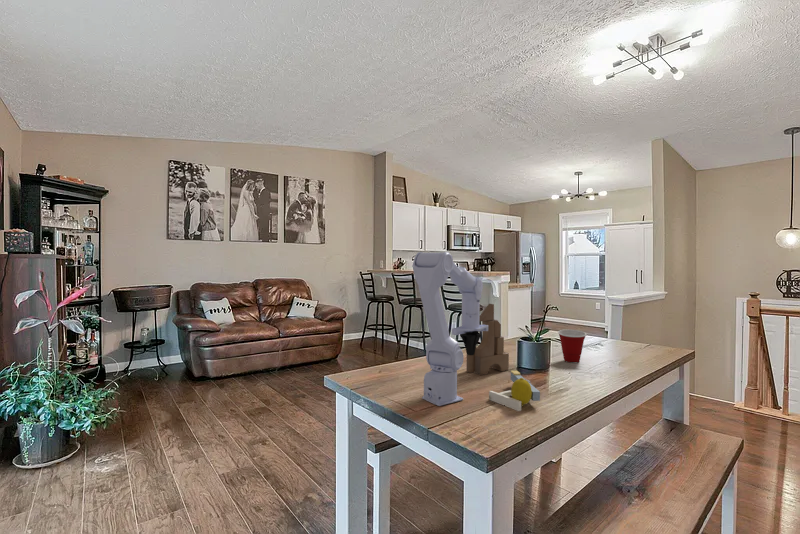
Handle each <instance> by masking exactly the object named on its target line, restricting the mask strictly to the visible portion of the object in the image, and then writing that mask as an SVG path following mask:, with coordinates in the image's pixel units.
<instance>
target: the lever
mask: <svg viewBox="0 0 800 534" xmlns="http://www.w3.org/2000/svg"><path fill="white" fill-rule="evenodd" d="M520 378H523V379H524V380H526V381H527V382H528V383H529V384H530V386H531V390H532V396H531V399H530V401H533V402H535V401H536V402H540V401H541V392H540V390H539V389H537V388H536V387H535V385H533V384H532V383H531V380H529V379H527V378H525V377H523V375H521V372H520V371H518V370H510V381H512V383H514V382H515V381H516V380H518V379H520Z"/></svg>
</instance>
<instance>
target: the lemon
mask: <svg viewBox="0 0 800 534" xmlns="http://www.w3.org/2000/svg"><path fill="white" fill-rule="evenodd" d="M523 378H524V377H523ZM523 378H520V379H518V380H516V381H515V382H512V385H511V389H510V390H511V395H512V396H511V398H513V399H516V400H519V401H521V407H523V406H525V405H527V404H529V402H530V401H531V396H532V390H531V386H530V384H531V383H530V384H529V383H528V382H527V381H526V380H527V379H526V380H524V379H525V378H524V379H523Z"/></svg>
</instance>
